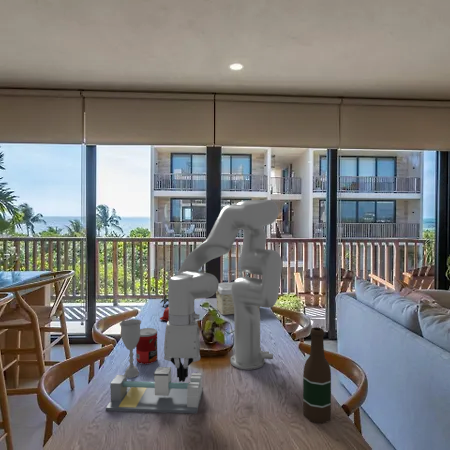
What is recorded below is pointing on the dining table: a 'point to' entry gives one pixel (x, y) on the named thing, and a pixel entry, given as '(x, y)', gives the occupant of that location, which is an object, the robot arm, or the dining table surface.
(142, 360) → the canned food
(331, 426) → the dining table surface
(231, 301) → the storage basket
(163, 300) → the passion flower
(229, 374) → the dining table surface
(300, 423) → the dining table surface
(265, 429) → the dining table surface
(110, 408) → the cable rig
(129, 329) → the chalice
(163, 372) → the sleeve
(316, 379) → the beer bottle
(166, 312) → the butter dish
